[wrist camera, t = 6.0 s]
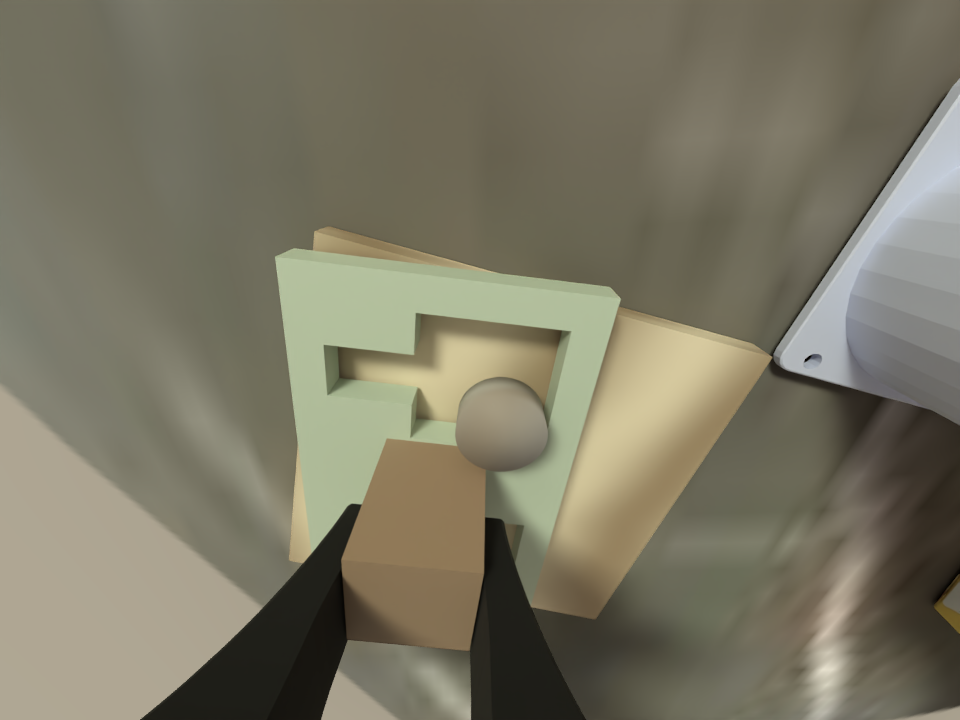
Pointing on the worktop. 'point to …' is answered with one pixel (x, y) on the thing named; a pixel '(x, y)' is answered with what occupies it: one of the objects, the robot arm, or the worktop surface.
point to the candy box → (950, 604)
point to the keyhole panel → (424, 436)
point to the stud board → (617, 432)
